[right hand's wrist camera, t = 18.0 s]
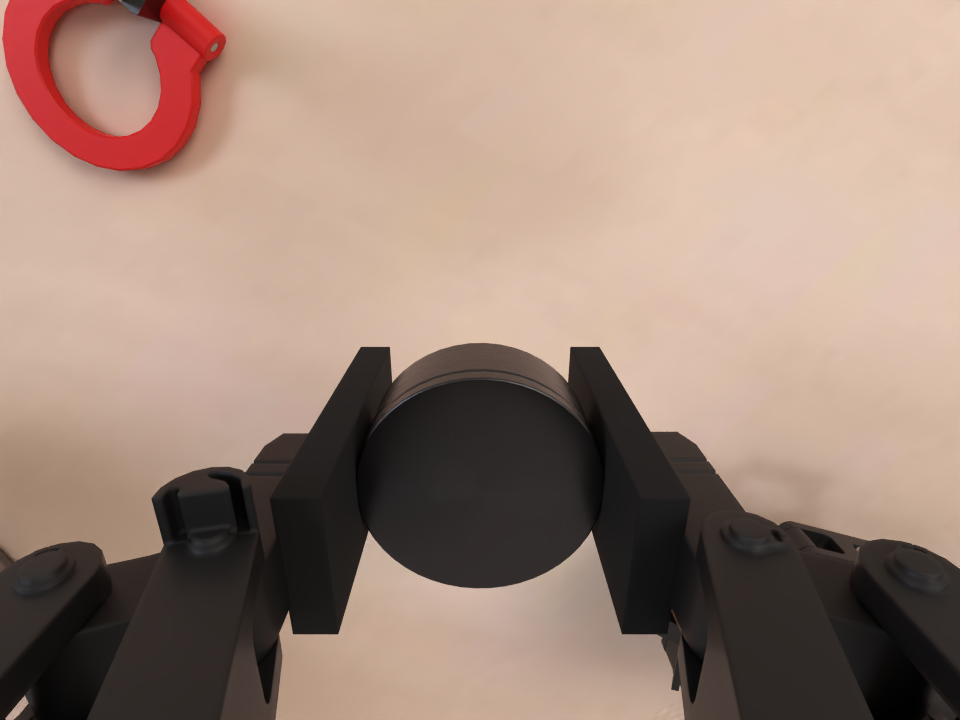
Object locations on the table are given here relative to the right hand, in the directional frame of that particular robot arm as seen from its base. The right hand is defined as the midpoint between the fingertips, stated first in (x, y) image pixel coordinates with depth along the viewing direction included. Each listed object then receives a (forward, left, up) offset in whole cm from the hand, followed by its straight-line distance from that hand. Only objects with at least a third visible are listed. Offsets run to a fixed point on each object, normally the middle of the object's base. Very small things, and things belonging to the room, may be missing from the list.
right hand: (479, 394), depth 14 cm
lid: (0, 0, +4) cm, 4 cm away
